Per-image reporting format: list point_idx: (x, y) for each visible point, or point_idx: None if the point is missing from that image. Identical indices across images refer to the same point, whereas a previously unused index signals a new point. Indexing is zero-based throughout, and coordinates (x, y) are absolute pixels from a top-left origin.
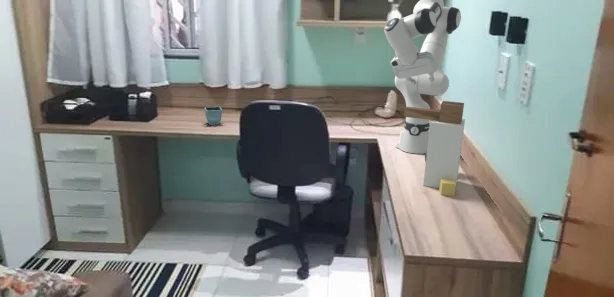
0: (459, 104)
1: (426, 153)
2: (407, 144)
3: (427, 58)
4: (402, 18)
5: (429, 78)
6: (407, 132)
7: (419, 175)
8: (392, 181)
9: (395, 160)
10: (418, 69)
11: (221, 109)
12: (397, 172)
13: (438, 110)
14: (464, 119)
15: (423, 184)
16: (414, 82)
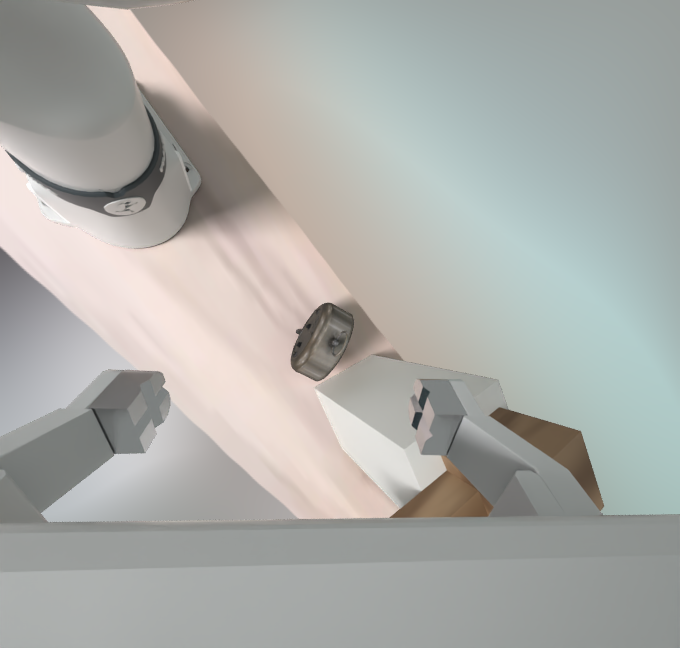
0: (585, 488)
1: (301, 371)
2: (118, 233)
3: None
4: None
5: (434, 452)
6: (86, 208)
7: (297, 400)
8: (278, 495)
9: (165, 352)
10: None
11: None
12: (244, 433)
13: (472, 508)
14: (497, 383)
15: (343, 449)
16: (149, 412)
